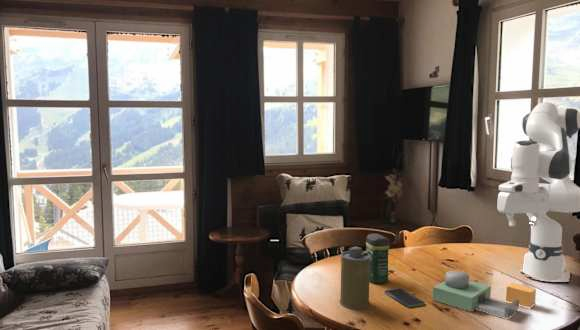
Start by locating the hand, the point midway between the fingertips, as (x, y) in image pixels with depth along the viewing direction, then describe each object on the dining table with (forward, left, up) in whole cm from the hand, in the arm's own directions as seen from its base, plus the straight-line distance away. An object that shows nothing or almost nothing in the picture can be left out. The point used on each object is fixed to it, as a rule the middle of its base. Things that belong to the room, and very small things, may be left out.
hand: (522, 225), depth 162 cm
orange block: (+2, +1, -28) cm, 28 cm away
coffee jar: (+19, -48, -28) cm, 58 cm away
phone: (+28, -30, -28) cm, 49 cm away
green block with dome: (+14, -15, -28) cm, 34 cm away
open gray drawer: (+14, -3, -28) cm, 31 cm away
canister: (+44, -40, -28) cm, 65 cm away
